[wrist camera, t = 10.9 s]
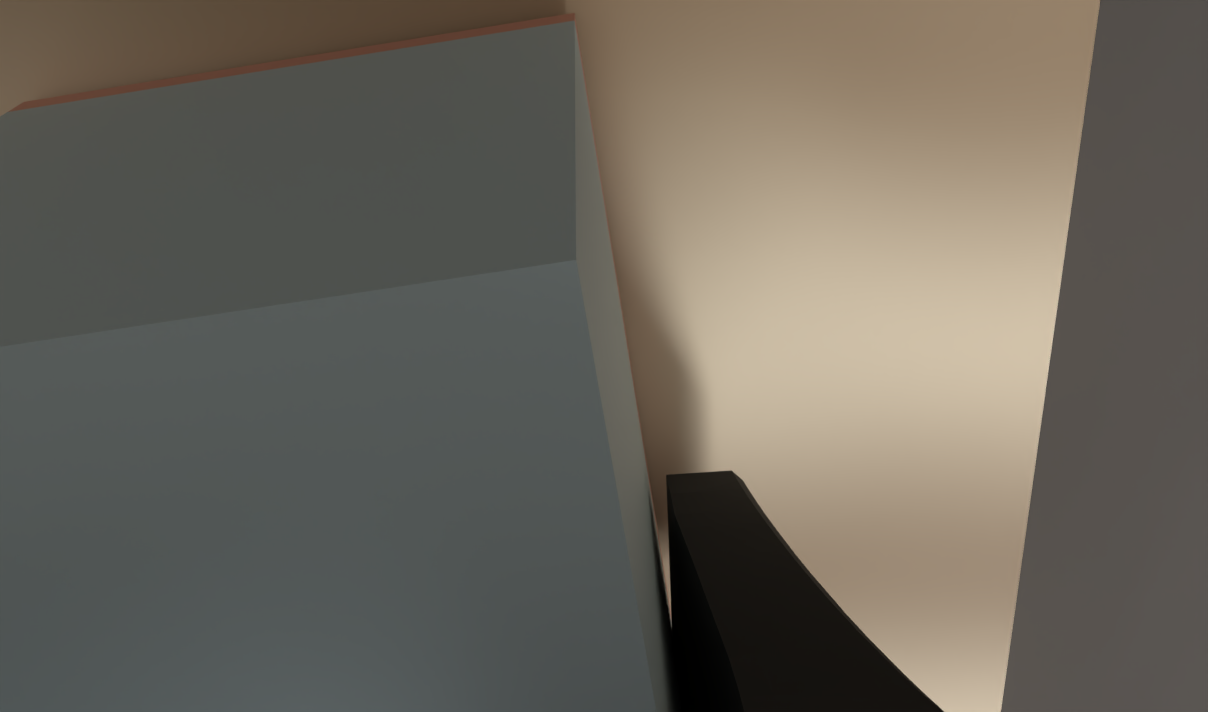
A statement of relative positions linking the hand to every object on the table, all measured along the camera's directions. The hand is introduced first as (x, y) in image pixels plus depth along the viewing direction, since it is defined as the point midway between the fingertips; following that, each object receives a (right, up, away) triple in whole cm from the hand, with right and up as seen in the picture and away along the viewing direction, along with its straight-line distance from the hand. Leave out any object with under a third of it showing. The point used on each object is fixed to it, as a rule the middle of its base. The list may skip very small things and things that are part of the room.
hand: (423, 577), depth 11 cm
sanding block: (0, +1, 0) cm, 1 cm away
